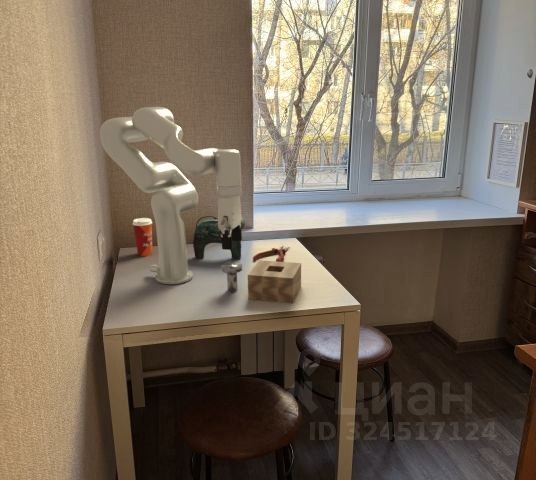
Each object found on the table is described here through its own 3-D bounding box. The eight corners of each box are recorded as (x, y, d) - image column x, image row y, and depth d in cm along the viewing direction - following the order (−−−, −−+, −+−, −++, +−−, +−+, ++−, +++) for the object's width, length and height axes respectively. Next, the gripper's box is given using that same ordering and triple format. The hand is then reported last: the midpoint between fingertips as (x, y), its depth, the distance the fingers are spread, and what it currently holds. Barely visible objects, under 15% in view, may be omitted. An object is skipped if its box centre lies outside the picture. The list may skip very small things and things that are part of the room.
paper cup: (150, 257, 192) (147, 222, 188) (132, 256, 193) (128, 222, 189) (157, 251, 200) (155, 217, 196) (140, 250, 201) (137, 217, 197)
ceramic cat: (246, 256, 192) (244, 206, 187) (243, 261, 186) (242, 209, 180) (196, 255, 194) (193, 205, 189) (192, 260, 188) (189, 209, 182)
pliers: (299, 251, 199) (299, 244, 198) (279, 266, 182) (279, 259, 181) (274, 247, 204) (273, 241, 203) (251, 262, 186) (251, 256, 186)
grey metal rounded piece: (219, 293, 156) (218, 267, 154) (226, 285, 163) (225, 261, 160) (239, 294, 155) (238, 269, 152) (245, 287, 161) (244, 262, 159)
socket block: (248, 299, 152) (247, 274, 149) (259, 282, 165) (259, 260, 162) (292, 303, 148) (292, 278, 146) (301, 286, 161) (301, 263, 159)
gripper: (226, 185, 158) (229, 236, 163) (207, 196, 142) (211, 252, 147) (249, 186, 157) (251, 237, 161) (232, 196, 140) (235, 253, 145)
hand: (232, 244), depth 154 cm, fingers open, 9 cm apart
